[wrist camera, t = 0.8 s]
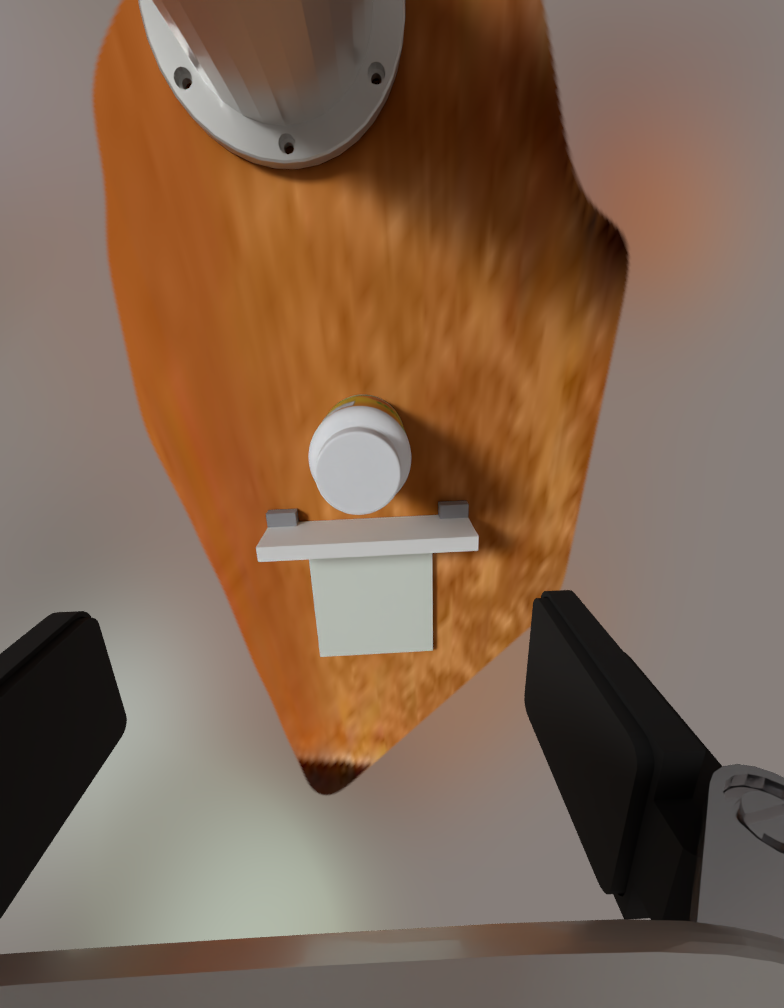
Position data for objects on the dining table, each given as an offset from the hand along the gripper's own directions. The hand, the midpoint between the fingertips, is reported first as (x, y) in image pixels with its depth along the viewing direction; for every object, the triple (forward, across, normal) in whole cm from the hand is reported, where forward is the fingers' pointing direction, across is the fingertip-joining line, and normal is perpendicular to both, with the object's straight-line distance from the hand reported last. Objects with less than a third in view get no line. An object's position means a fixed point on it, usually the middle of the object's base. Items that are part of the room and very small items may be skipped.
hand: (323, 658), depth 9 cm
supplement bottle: (+21, 0, -1) cm, 21 cm away
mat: (+21, 0, +12) cm, 24 cm away
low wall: (+21, 0, +5) cm, 22 cm away
